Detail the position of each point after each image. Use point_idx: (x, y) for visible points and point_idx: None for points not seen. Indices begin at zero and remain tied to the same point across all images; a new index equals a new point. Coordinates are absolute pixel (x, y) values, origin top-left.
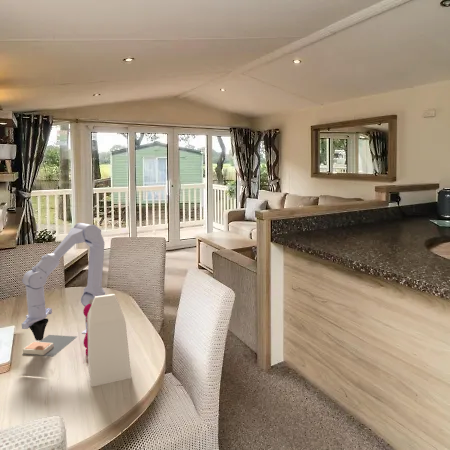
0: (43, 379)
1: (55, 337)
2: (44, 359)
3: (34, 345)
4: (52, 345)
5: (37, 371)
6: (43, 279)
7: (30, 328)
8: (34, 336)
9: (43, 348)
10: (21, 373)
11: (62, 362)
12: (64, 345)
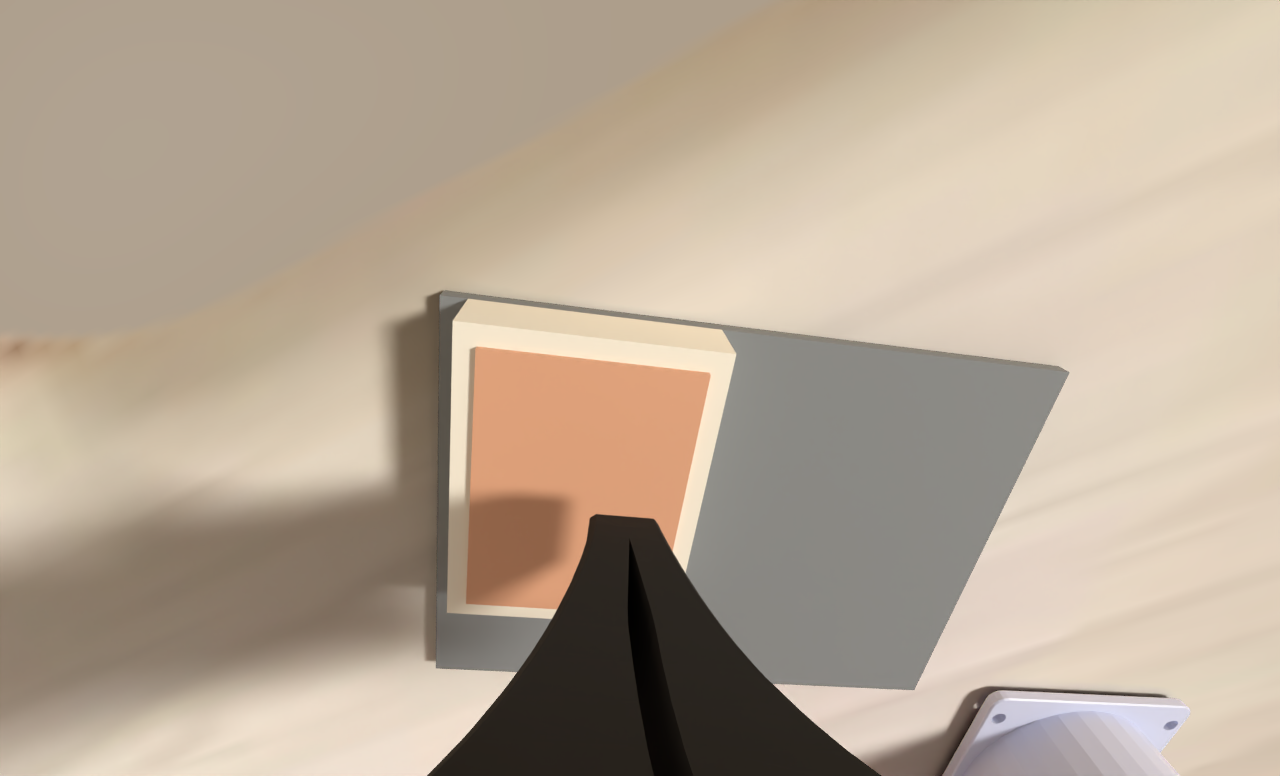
0: (15, 747)
1: (949, 492)
2: (385, 597)
3: (583, 444)
4: None
5: (124, 645)
6: None
7: (487, 721)
8: (581, 557)
9: (494, 597)
10: (14, 522)
11: (359, 756)
12: None
